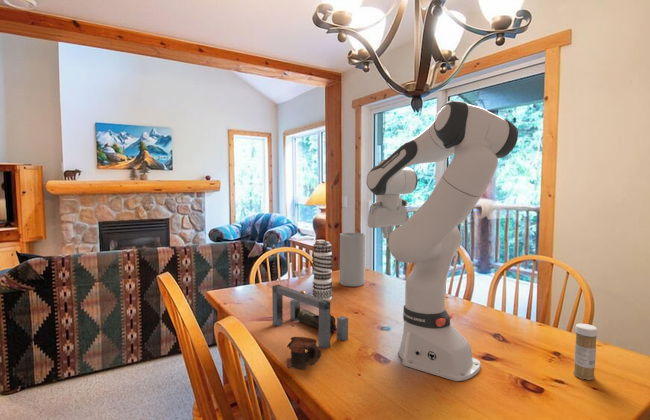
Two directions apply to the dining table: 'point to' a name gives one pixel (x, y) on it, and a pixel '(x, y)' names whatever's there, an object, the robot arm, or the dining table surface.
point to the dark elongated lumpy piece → (314, 319)
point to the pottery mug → (303, 352)
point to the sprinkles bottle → (585, 351)
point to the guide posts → (341, 321)
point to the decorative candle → (322, 270)
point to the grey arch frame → (308, 299)
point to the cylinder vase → (352, 259)
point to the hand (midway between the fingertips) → (387, 237)
